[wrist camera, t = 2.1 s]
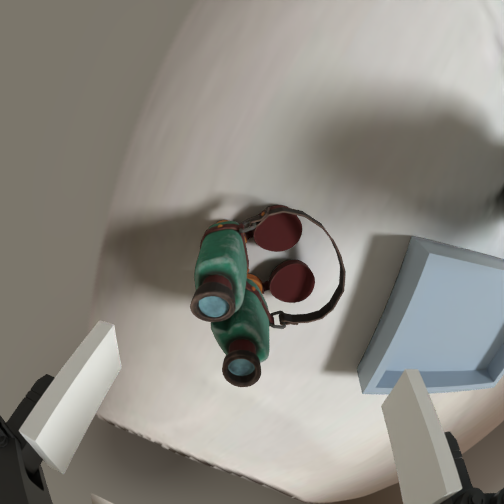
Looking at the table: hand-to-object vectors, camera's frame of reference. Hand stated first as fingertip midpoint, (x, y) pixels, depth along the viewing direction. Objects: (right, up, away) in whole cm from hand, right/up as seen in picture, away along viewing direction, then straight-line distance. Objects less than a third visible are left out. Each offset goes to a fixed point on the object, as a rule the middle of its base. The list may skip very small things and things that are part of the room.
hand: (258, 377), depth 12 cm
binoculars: (+1, +5, +12) cm, 13 cm away
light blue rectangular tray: (+22, -2, +13) cm, 25 cm away
